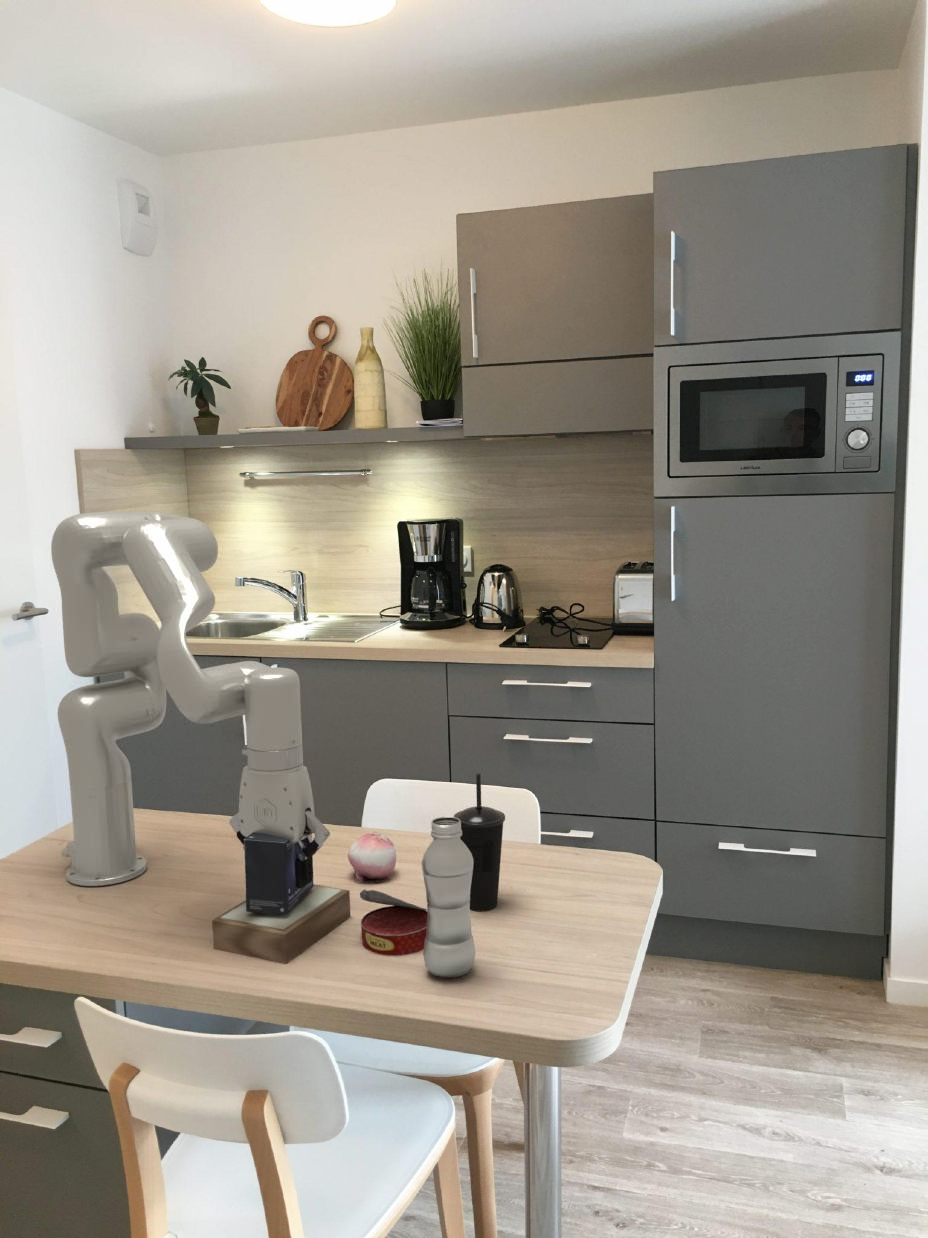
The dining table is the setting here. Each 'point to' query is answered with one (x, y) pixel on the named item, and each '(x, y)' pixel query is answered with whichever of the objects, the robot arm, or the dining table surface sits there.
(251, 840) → the small box
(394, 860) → the onion
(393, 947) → the canned food
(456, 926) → the plastic bottle
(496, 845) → the drinking cup
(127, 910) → the dining table surface
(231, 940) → the base
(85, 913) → the dining table surface
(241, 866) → the dining table surface
